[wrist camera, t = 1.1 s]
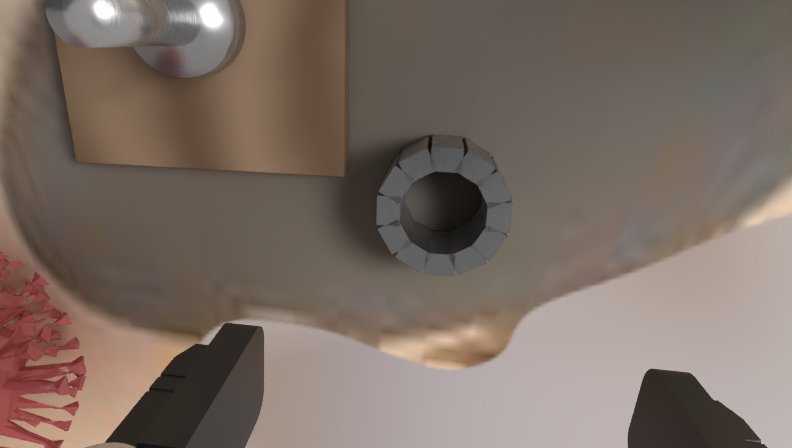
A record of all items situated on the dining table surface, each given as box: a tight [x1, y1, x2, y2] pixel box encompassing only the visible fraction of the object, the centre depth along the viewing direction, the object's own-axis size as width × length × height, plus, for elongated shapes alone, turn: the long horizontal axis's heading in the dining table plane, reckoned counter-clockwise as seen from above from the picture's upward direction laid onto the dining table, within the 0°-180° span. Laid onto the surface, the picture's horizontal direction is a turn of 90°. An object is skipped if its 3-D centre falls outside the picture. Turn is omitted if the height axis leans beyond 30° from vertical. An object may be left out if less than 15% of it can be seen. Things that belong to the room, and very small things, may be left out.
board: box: [54, 0, 349, 177], centre depth 25 cm, size 14×14×1 cm
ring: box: [376, 135, 513, 276], centre depth 26 cm, size 6×6×3 cm
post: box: [45, 0, 246, 78], centre depth 20 cm, size 5×5×8 cm
